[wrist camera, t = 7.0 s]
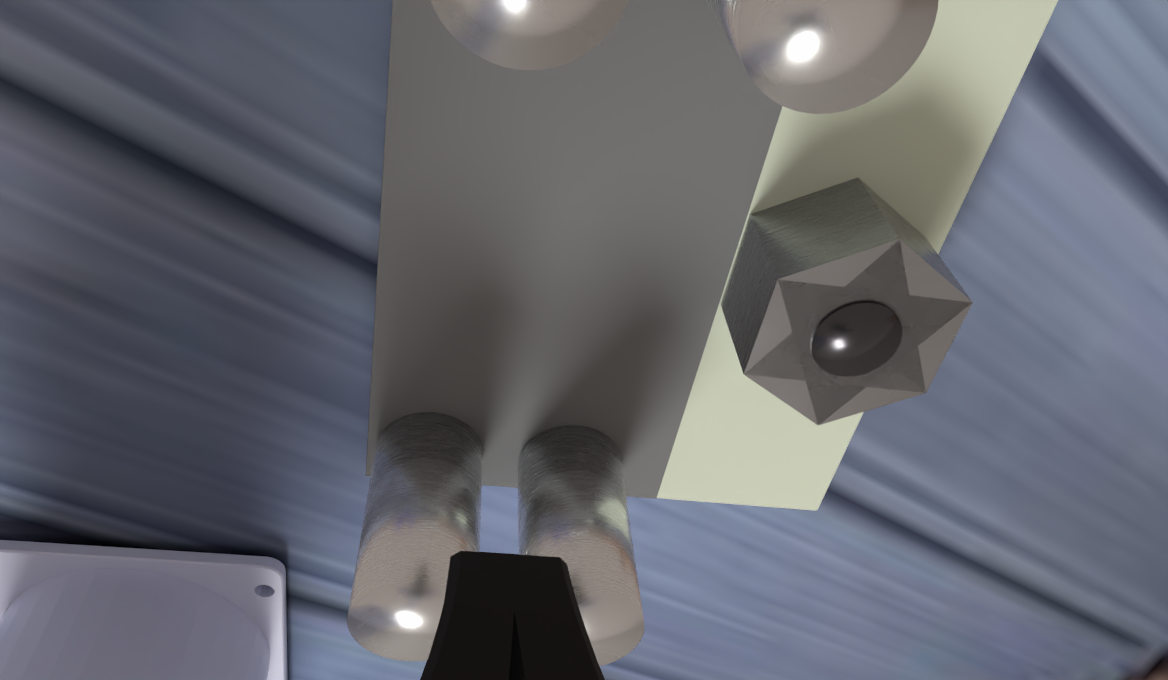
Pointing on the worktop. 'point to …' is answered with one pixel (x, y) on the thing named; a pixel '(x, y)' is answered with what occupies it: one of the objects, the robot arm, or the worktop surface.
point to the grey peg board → (572, 452)
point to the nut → (840, 303)
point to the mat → (640, 233)
